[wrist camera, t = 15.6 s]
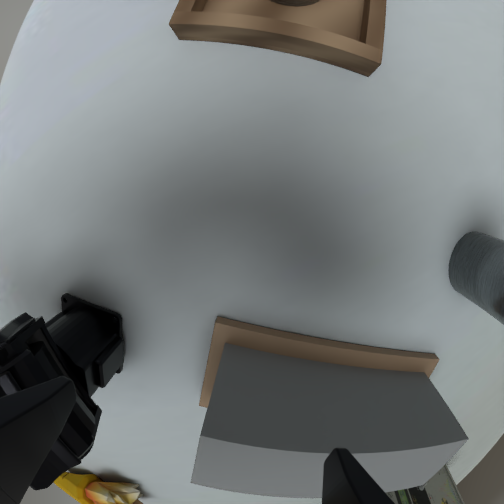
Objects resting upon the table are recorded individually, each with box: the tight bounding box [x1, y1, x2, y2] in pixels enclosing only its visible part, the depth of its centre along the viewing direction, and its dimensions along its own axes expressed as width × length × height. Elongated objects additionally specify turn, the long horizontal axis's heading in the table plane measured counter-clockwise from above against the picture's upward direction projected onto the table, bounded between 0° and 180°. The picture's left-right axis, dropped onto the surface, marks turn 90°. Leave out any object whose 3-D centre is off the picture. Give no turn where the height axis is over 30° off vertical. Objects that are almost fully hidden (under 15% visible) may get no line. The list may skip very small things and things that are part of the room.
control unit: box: [191, 316, 468, 498], centre depth 17 cm, size 20×9×10 cm, turn 77°
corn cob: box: [54, 472, 143, 504], centre depth 28 cm, size 8×8×25 cm
